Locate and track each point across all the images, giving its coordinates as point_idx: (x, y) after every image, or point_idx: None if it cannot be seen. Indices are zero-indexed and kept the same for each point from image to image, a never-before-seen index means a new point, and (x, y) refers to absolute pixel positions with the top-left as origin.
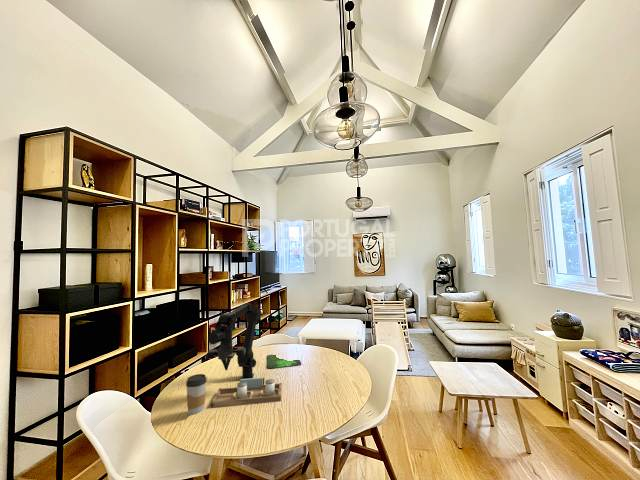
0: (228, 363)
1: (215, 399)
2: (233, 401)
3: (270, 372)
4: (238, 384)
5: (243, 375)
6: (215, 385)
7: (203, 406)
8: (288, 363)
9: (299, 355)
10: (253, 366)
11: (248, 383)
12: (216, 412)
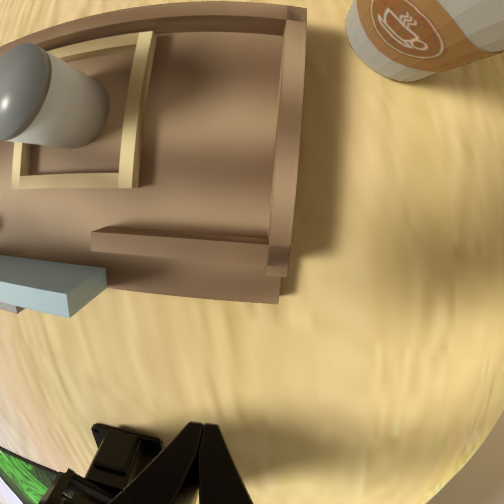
0: (120, 501)
1: (283, 61)
2: (126, 12)
3: (37, 442)
4: (34, 71)
5: (142, 459)
6: (324, 415)
7: (353, 2)
8: (8, 466)
9: (13, 494)
10: (60, 475)
11: (28, 273)
12: None
